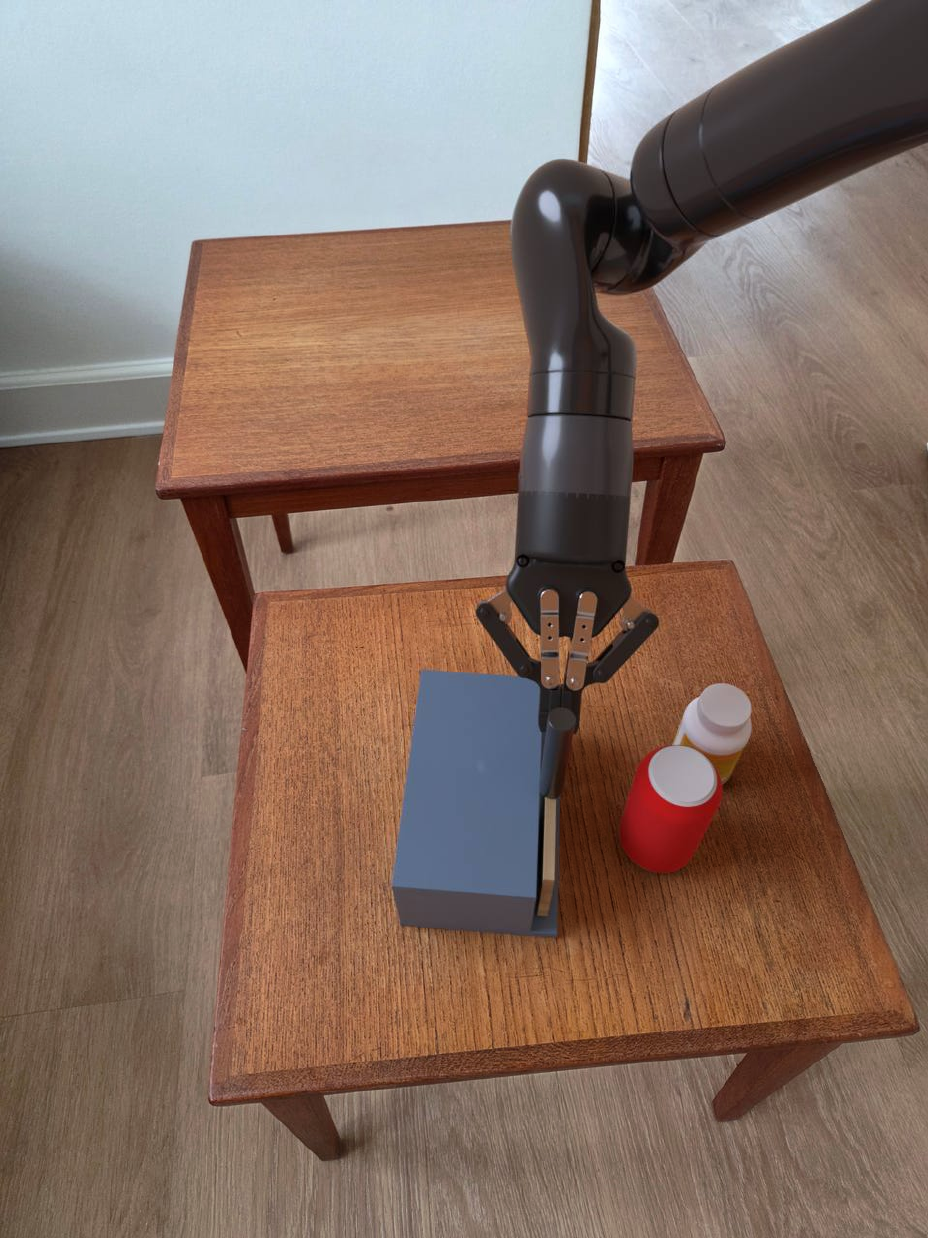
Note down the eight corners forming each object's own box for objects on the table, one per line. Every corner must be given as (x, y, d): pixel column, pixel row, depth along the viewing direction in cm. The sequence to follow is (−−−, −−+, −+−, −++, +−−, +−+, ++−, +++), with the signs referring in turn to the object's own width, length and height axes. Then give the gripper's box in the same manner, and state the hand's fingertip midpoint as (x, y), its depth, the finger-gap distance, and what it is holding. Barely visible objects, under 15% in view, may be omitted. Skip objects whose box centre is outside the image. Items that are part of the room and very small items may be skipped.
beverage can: (670, 893, 67) (702, 831, 57) (602, 848, 69) (622, 781, 59) (706, 834, 70) (743, 765, 60) (640, 792, 72) (665, 720, 62)
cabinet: (560, 731, 76) (568, 678, 69) (556, 938, 65) (565, 900, 58) (426, 722, 76) (421, 669, 69) (400, 925, 66) (391, 886, 59)
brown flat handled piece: (556, 813, 69) (576, 699, 55) (554, 917, 64) (575, 820, 50) (534, 812, 70) (548, 697, 55) (530, 915, 65) (545, 818, 50)
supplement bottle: (737, 791, 72) (769, 734, 64) (673, 792, 72) (697, 735, 64) (724, 734, 75) (753, 674, 67) (663, 736, 75) (685, 675, 67)
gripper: (472, 483, 54) (459, 747, 56) (684, 493, 53) (661, 761, 55) (479, 485, 61) (467, 719, 64) (664, 494, 60) (645, 731, 63)
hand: (557, 738), depth 60 cm, fingers closed
